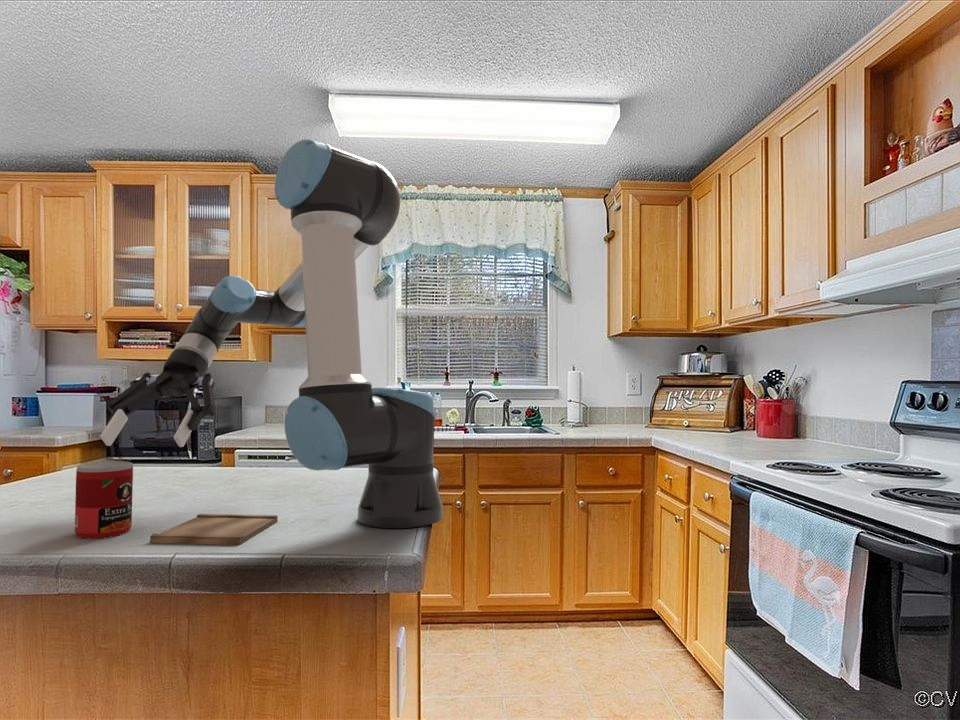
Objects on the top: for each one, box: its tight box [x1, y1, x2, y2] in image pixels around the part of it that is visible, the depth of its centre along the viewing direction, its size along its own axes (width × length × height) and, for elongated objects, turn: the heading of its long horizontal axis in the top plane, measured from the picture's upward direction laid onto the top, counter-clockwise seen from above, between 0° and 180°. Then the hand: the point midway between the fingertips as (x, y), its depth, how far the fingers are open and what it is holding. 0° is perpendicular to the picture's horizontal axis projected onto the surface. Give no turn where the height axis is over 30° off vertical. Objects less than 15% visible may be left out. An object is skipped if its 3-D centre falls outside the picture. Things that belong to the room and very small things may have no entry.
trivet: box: [149, 513, 279, 546], centre depth 94 cm, size 14×14×1 cm
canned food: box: [74, 460, 134, 540], centre depth 93 cm, size 8×8×11 cm
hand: (141, 441), depth 103 cm, fingers open, 13 cm apart
